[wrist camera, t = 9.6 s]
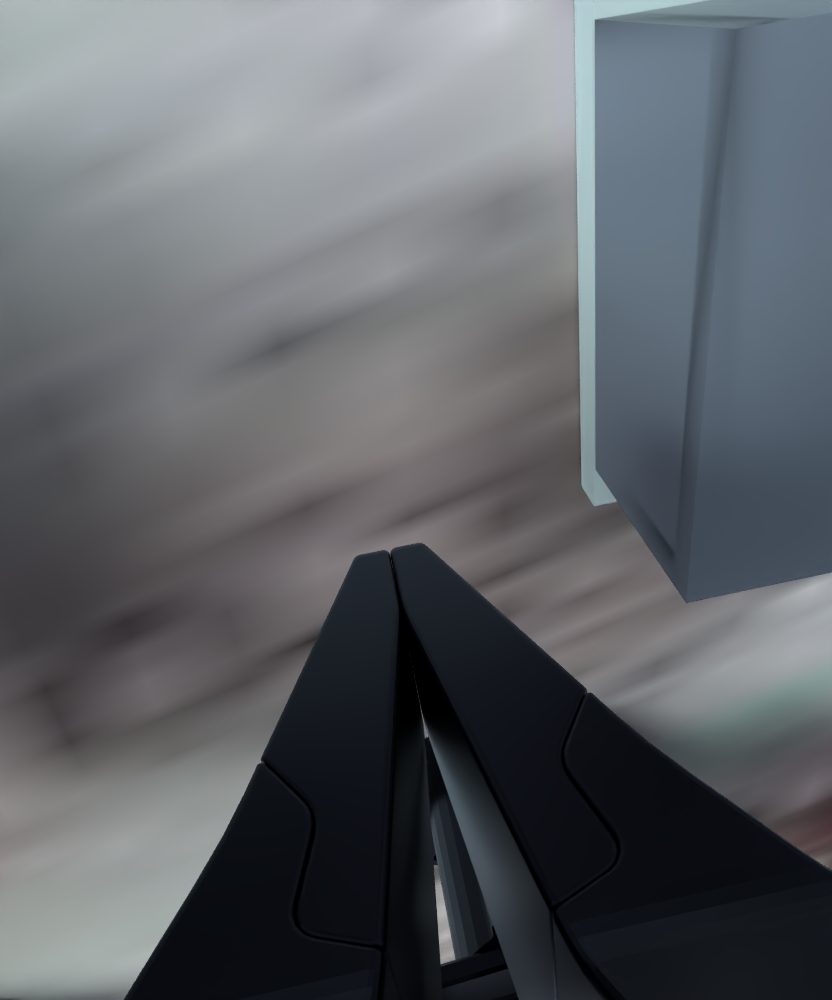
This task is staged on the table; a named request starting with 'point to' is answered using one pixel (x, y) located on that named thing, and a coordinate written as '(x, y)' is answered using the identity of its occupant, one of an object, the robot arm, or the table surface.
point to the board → (592, 216)
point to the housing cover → (717, 287)
